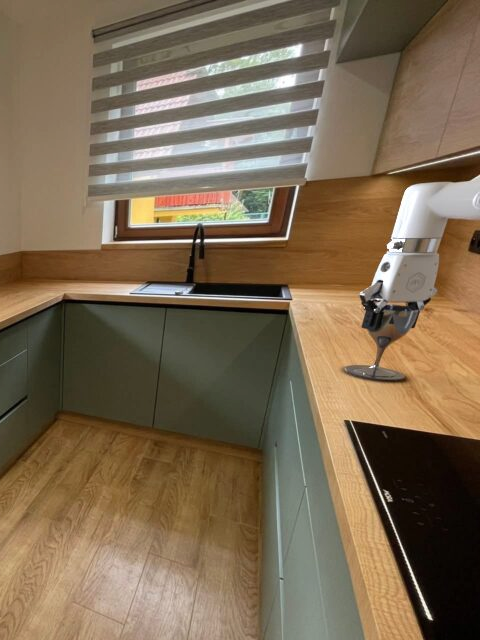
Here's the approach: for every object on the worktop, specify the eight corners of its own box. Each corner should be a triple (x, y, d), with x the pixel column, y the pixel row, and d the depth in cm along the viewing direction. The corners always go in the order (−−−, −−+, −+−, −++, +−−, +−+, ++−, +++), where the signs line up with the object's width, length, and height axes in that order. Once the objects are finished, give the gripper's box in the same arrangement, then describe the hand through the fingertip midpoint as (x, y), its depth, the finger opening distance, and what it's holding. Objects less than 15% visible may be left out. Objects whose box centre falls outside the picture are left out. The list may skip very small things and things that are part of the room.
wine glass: (344, 366, 104) (361, 304, 99) (382, 366, 102) (401, 304, 97) (365, 376, 97) (384, 311, 92) (407, 377, 95) (429, 310, 90)
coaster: (372, 366, 105) (373, 363, 105) (417, 380, 95) (418, 377, 95) (332, 368, 104) (333, 366, 104) (373, 383, 95) (373, 380, 94)
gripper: (391, 249, 86) (366, 334, 92) (472, 245, 87) (442, 329, 93) (357, 248, 93) (335, 326, 99) (432, 244, 94) (406, 322, 100)
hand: (387, 327), depth 96 cm, fingers closed on wine glass, 8 cm apart
